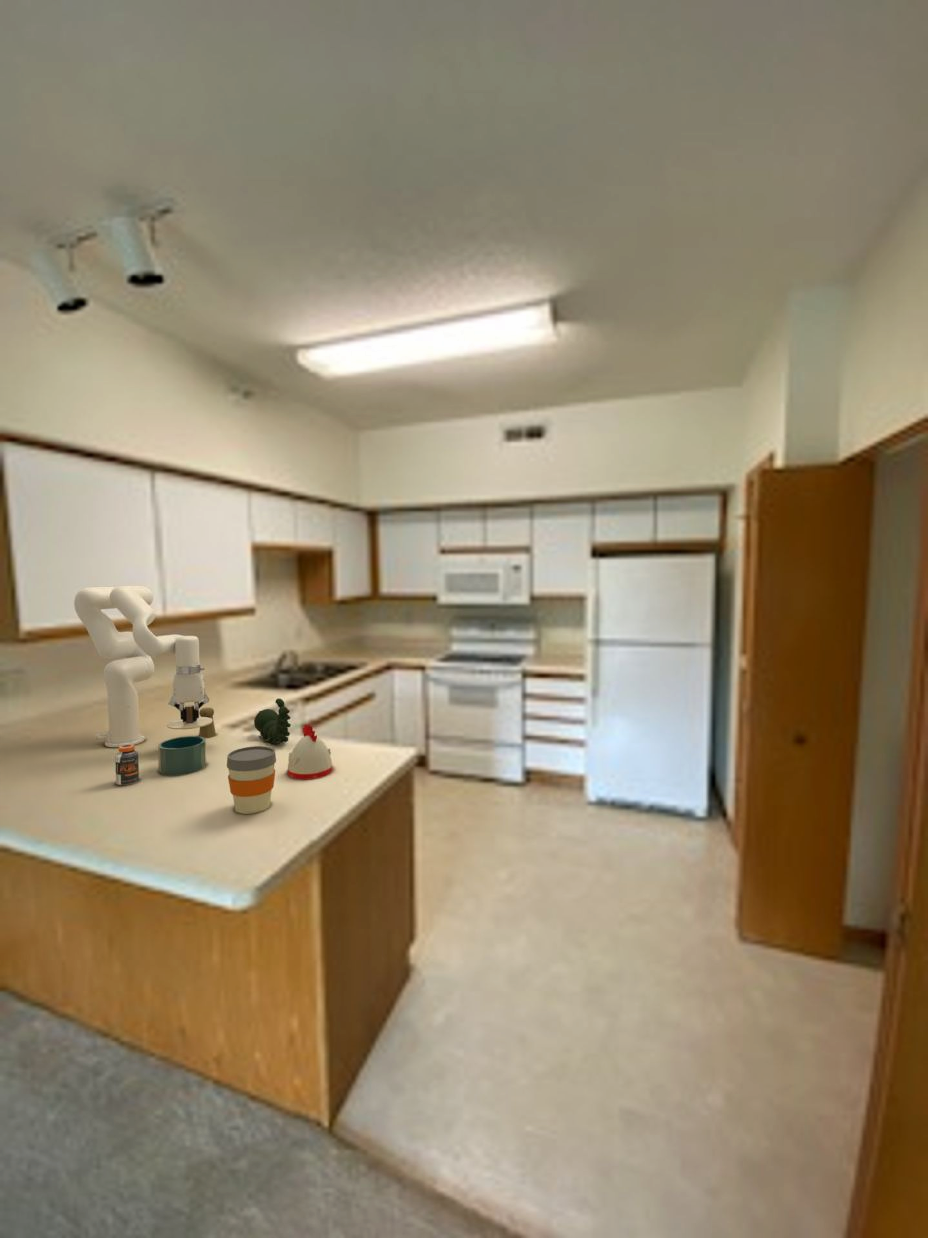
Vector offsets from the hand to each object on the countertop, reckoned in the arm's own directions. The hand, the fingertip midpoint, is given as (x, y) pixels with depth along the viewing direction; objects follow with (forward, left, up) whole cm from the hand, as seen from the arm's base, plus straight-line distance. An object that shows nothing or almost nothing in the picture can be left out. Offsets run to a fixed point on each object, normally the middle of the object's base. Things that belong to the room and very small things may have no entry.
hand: (190, 720), depth 189 cm
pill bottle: (-14, -27, -11) cm, 32 cm away
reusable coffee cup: (+22, -58, -11) cm, 63 cm away
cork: (+4, +17, -11) cm, 21 cm away
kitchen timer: (+39, -36, -11) cm, 54 cm away
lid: (0, 0, -1) cm, 1 cm away
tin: (0, -19, -11) cm, 22 cm away
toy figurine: (+28, +2, -11) cm, 30 cm away
